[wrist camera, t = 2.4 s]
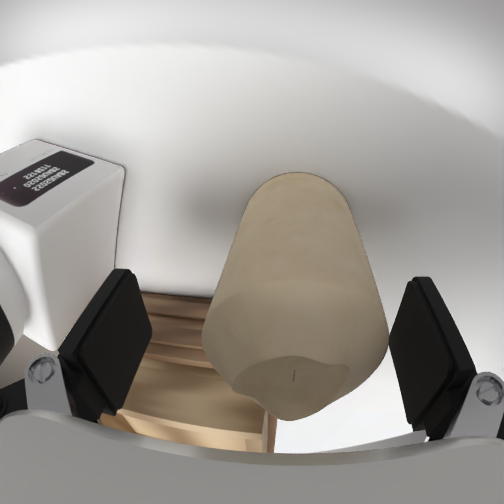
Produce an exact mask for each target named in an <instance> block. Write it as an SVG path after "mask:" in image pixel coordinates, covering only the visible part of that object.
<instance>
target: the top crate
mask: <svg viewBox="0 0 504 504" xmlns="http://www.w3.org/2000/svg"><path fill="white" fill-rule="evenodd" d="M268 419H269V413H268V412H267V411H266V410H265V409H264V408H262V407H261V406H260V405H259V404H257V403H256V402H254V401H253V400H252V399H250V398H249V397H247V396H245V395H240V394H237V393H235V392H234V391H233V390H232V388H231V387H230V385H229V384H228V383H227V382H226V381H225V380H224V379H223V378H222V377H221V376H220V375H219V373H218V372H217V371H216V370H215V369H213V368H205V367H197V366H190V365H183V364H177V363H170V362H164V361H159V360H153V359H147V358H142V361H141V363H140V365H139V368H138V370H137V373H136V375H135V377H134V380H133V382H132V385H131V387H130V390H129V392H128V395H127V397H126V400H125V402H124V405H123V407H122V408H121V409H120V410H118V411H117V413H116V416H111V415H108V414H104V413H102V414H101V417H100V420H101V422H102V425H104V426H107V427H111V428H115V429H118V430H122V431H126V432H130V433H134V434H138V435H142V436H147V437H151V438H156V439H160V440H165V441H171V442H176V443H182V444H188V445H194V446H201V447H208V448H216V449H224V450H234V451H246V452H260V453H267V451H268Z"/></svg>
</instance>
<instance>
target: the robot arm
mask: <svg viewBox="0 0 504 504" xmlns="http://www.w3.org/2000/svg"><path fill="white" fill-rule="evenodd" d="M151 337H152V326H151V323H150V320H149V317H148V314H147V311H146V308H145V305H144V302H143V298H142V295H141V292H140V289H139V285H138V282H137V278H136V276H135V274H133V273H132V272H131V271H130V270H129V269H113V270H112V271H111V273H110V274H109V275H108V277H107V278H106V280H105V281H104V282H103V284H102V285H101V286H100V288H99V289H98V291H97V292H96V293H95V295H94V296H93V298H92V299H91V301H90V302H89V304H88V305H87V306H86V308H85V309H84V311H83V312H82V314H81V315H80V317H79V318H78V320H77V321H76V323H75V324H74V326H73V327H72V329H71V330H70V332H69V333H68V335H67V337H66V338H65V340H64V341H63V343H62V345H61V346H60V348H59V349H58V351H59V355H58V357H56V356H55V355H53V354H50V353H44V354H40V355H38V356H36V357H35V358H33V359H32V360H31V361H30V362H29V364H28V365H27V367H26V370H25V378H24V379H22V380H20V381H17V382H15V383H13V384H11V385H8V386H6V387H4V388H2V389H0V504H504V382H503V381H502V380H501V378H500V377H498V376H497V375H496V374H493V373H491V372H482V373H479V374H477V372H476V369H475V365H474V363H473V361H472V358H471V356H470V354H469V351H468V349H467V347H466V345H465V343H464V341H463V338H462V336H461V334H460V332H459V330H458V328H457V326H456V324H455V322H454V320H453V318H452V316H451V314H450V312H449V310H448V308H447V306H446V305H445V303H444V301H443V299H442V297H441V295H440V293H439V292H438V290H437V288H436V286H435V284H434V283H433V281H432V279H431V278H430V277H414V278H413V279H412V281H409V282H408V283H407V286H406V289H405V292H404V295H403V298H402V301H401V304H400V307H399V310H398V313H397V316H396V319H395V322H394V324H393V327H392V330H391V332H390V335H389V348H390V352H391V355H392V359H393V363H394V367H395V370H396V374H397V378H398V383H399V387H400V391H401V395H402V400H403V404H404V409H405V413H406V418H407V422H408V423H409V424H412V428H413V432H414V431H420V430H426V434H427V438H426V440H425V441H424V443H419V444H412V445H406V446H399V447H391V448H384V449H376V450H366V451H355V452H341V453H313V454H287V453H260V452H246V451H234V450H224V449H216V448H208V447H201V446H194V445H188V444H182V443H176V442H171V441H165V440H160V439H156V438H151V437H147V436H142V435H138V434H134V433H130V432H126V431H122V430H118V429H115V428H111V427H107V426H104V425H102V422H101V420H100V417H101V414H102V413H104V414H108V415H111V416H116V413H117V411H118V410H120V409H121V408H122V407H123V405H124V402H125V400H126V397H127V395H128V392H129V390H130V387H131V385H132V382H133V380H134V377H135V375H136V373H137V370H138V368H139V365H140V363H141V361H142V358H143V356H144V353H145V351H146V349H147V346H148V344H149V342H150V340H151Z"/></svg>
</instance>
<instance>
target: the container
mask: <svg viewBox="0 0 504 504" xmlns="http://www.w3.org/2000/svg"><path fill="white" fill-rule="evenodd" d="M124 175H125V171H124V169H123V167H121V166H119V165H116V164H113V163H110V162H107V161H103V160H100V159H97V158H94V157H91V156H88V155H85V154H81V153H78V152H75V151H72V150H69V149H65V148H62V147H59V146H55V145H52V144H49V143H45V142H42V141H39V140H30V141H28V142H25V143H23V144H21V145H18V146H16V147H14V148H11V149H9V150H7V151H5V152H3V153H1V154H0V365H1V364H2V362H3V361H4V359H5V358H6V357H7V355H8V354H9V352H10V351H11V350H12V348H13V347H14V346H15V344H16V343H17V341H18V340H19V339H20V337H21V336H22V334H24V335H26V336H27V337H29V338H30V339H32V340H34V341H35V342H37V343H38V344H40V345H42V346H43V347H45V348H47V349H49V350H50V351H54V350H56V349H57V348H58V347H59V345H60V344H61V342H62V341H63V340H64V338H65V337H66V335H67V334H68V332H69V331H70V329H71V328H72V327H73V325H74V324H75V322H76V321H77V320H78V318H79V317H80V315H81V314H82V312H83V311H84V309H85V308H86V306H87V305H88V304H89V302H90V301H91V299H92V298H93V296H94V295H95V293H96V292H97V291H98V289H99V288H100V286H101V285H102V284H103V282H104V281H105V280H106V278H107V277H108V275H109V274H110V273H111V271H112V270H113V269H114V259H115V247H116V236H117V226H118V217H119V209H120V202H121V194H122V188H123V181H124Z"/></svg>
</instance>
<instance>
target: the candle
mask: <svg viewBox="0 0 504 504" xmlns="http://www.w3.org/2000/svg"><path fill="white" fill-rule="evenodd" d="M388 344H389V330H388V325H387V321H386V317H385V314H384V310H383V306H382V303H381V300H380V296H379V293H378V290H377V286H376V283H375V280H374V277H373V274H372V270H371V267H370V264H369V261H368V258H367V255H366V252H365V249H364V246H363V244H362V241H361V238H360V235H359V232H358V230H357V227H356V224H355V221H354V219H353V216H352V213H351V211H350V209H349V206H348V204H347V202H346V200H345V199H344V197H343V196H342V194H341V193H340V192H339V191H338V190H337V189H336V188H335V187H334V186H333V185H332V184H331V183H329V182H328V181H326V180H324V179H322V178H320V177H318V176H315V175H312V174H307V173H287V174H283V175H280V176H277V177H274V178H272V179H270V180H269V181H267V182H266V183H264V184H263V185H262V186H261V187H260V188H259V189H258V190H257V191H256V192H255V193H254V194H253V195H252V197H251V199H250V200H249V202H248V204H247V207H246V209H245V211H244V214H243V217H242V219H241V222H240V225H239V227H238V230H237V233H236V235H235V238H234V241H233V244H232V246H231V249H230V252H229V255H228V257H227V260H226V263H225V266H224V268H223V271H222V274H221V277H220V280H219V282H218V285H217V288H216V291H215V294H214V296H213V299H212V302H211V305H210V308H209V311H208V313H207V316H206V319H205V322H204V325H203V330H202V345H203V349H204V352H205V354H206V357H207V358H208V360H209V362H210V363H211V365H212V366H213V367H214V369H215V370H216V371H217V372H218V373H219V375H220V376H221V377H222V378H223V379H224V380H225V381H226V382H227V383H228V384H229V385H230V387H231V388H232V390H233V391H234V392H235V393H237V394H240V395H245V396H247V397H249V398H250V399H252V400H253V401H254V402H256V403H257V404H259V405H260V406H261V407H262V408H264V409H265V410H266V411H267V412H268V413H269V414H271V415H272V416H274V417H276V418H278V419H280V420H285V421H293V420H298V419H302V418H305V417H307V416H310V415H312V414H314V413H317V412H318V411H320V410H322V409H323V408H325V407H326V406H327V405H329V404H331V403H332V402H334V401H336V400H338V399H339V398H341V397H343V396H345V395H346V394H348V393H350V392H351V391H353V390H354V389H356V388H357V387H358V386H360V385H361V384H362V383H363V382H364V381H365V380H366V379H368V378H369V377H370V376H371V374H372V373H373V372H374V371H375V370H376V369H377V367H378V366H379V365H380V364H381V362H382V360H383V359H384V357H385V354H386V352H387V349H388Z"/></svg>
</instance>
